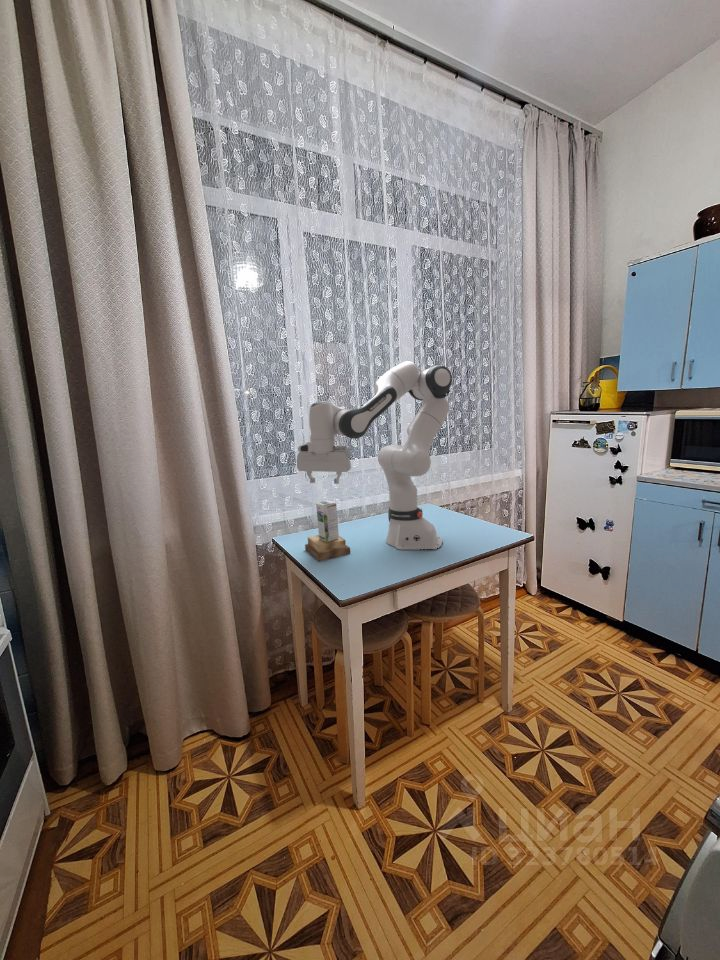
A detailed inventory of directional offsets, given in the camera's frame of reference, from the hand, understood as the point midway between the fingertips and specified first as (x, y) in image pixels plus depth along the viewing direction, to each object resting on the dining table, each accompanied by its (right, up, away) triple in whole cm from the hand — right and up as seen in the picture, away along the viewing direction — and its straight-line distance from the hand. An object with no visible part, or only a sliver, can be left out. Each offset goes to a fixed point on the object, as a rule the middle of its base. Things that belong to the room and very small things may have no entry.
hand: (324, 483), depth 146 cm
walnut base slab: (+1, -27, +6) cm, 28 cm away
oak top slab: (0, -24, +5) cm, 25 cm away
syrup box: (+1, -22, +4) cm, 22 cm away
